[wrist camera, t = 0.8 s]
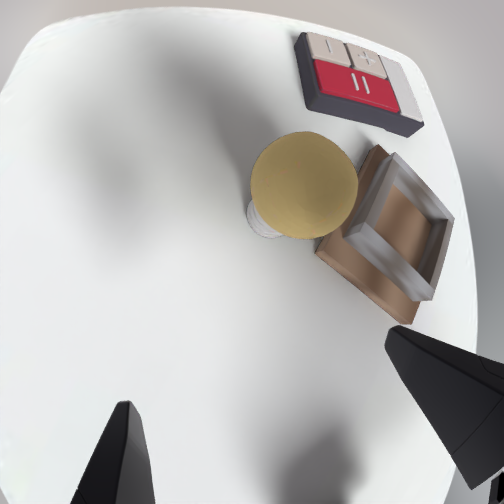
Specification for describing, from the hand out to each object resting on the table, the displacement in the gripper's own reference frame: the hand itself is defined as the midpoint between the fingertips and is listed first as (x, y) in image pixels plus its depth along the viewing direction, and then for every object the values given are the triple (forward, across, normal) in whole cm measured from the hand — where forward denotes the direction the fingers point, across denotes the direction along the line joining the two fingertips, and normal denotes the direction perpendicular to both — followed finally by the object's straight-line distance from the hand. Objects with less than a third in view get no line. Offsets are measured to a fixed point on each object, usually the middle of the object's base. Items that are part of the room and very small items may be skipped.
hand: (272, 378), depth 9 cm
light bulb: (+16, -5, +1) cm, 17 cm away
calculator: (+25, -21, -10) cm, 34 cm away
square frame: (+15, -18, +4) cm, 24 cm away
